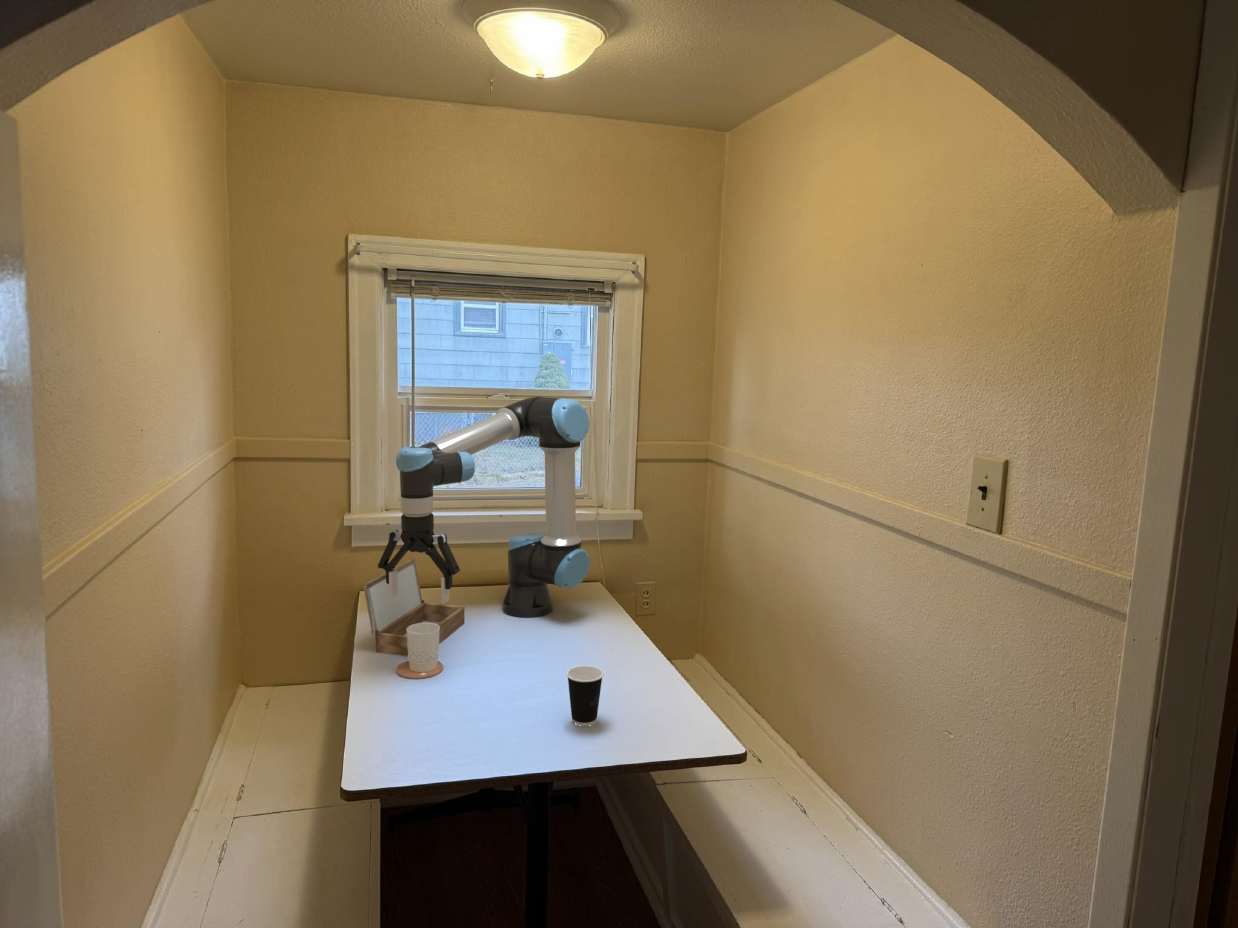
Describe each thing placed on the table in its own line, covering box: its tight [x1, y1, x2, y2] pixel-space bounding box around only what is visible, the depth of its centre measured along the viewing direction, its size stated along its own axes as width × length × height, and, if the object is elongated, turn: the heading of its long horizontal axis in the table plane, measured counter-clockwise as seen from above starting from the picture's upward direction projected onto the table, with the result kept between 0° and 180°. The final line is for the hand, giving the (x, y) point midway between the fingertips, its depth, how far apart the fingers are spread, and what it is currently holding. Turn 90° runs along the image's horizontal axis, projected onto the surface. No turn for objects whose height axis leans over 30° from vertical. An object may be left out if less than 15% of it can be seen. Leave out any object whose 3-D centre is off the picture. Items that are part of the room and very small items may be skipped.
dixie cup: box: [565, 665, 605, 727], centre depth 169 cm, size 8×8×11 cm
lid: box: [362, 558, 423, 635], centre depth 216 cm, size 13×26×1 cm
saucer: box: [396, 660, 444, 680], centre depth 194 cm, size 11×11×1 cm
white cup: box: [406, 622, 440, 672], centre depth 194 cm, size 8×8×10 cm
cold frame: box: [374, 599, 466, 657], centre depth 215 cm, size 13×26×6 cm, turn 167°
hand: (419, 599), depth 192 cm, fingers open, 13 cm apart
